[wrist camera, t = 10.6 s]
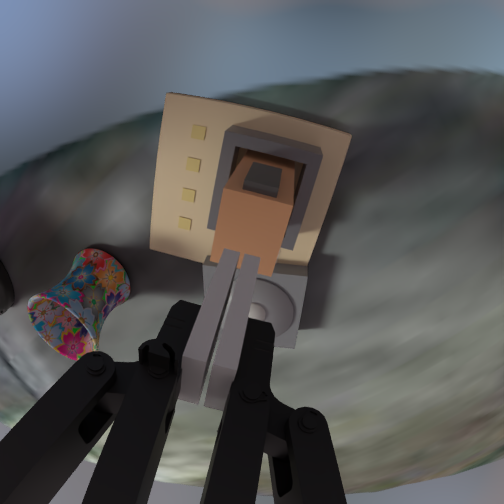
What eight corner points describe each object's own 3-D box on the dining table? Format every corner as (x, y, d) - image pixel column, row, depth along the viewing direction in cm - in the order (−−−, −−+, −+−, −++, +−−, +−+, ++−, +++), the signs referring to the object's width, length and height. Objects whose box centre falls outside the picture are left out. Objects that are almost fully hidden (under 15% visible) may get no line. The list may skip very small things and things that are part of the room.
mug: (124, 241, 34) (75, 299, 25) (144, 305, 39) (109, 368, 30) (51, 242, 36) (1, 290, 27) (74, 299, 41) (35, 350, 32)
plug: (236, 201, 29) (209, 261, 20) (250, 142, 26) (225, 178, 17) (279, 212, 29) (271, 276, 20) (296, 154, 26) (296, 196, 17)
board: (153, 243, 34) (138, 264, 30) (171, 92, 25) (151, 95, 22) (298, 280, 34) (298, 306, 30) (349, 133, 26) (358, 143, 22)
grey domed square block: (212, 320, 38) (205, 341, 35) (209, 249, 33) (200, 268, 30) (295, 330, 38) (294, 352, 35) (307, 259, 32) (308, 280, 29)
